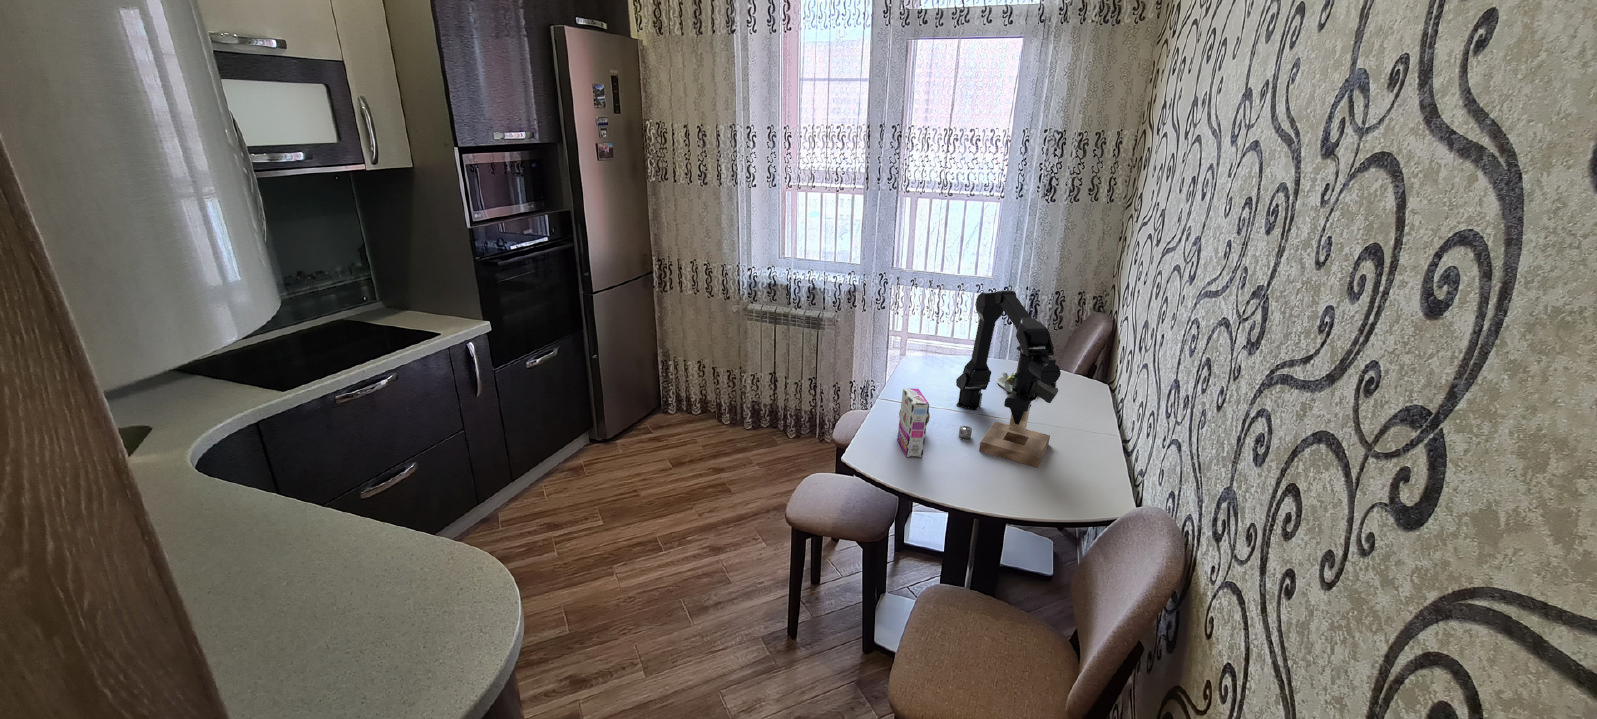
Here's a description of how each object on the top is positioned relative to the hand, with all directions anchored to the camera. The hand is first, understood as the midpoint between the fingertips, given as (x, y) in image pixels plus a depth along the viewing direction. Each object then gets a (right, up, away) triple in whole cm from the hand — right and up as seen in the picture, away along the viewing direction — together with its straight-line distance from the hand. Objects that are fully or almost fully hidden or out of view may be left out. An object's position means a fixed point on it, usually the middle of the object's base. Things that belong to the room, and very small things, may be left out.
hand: (1018, 421), depth 175 cm
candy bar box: (-31, -8, 0) cm, 32 cm away
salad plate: (+18, +7, +46) cm, 50 cm away
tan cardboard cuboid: (0, -2, +1) cm, 2 cm away
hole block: (0, -8, +3) cm, 8 cm away
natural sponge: (-28, -4, +10) cm, 30 cm away
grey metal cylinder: (-13, -6, +8) cm, 16 cm away
